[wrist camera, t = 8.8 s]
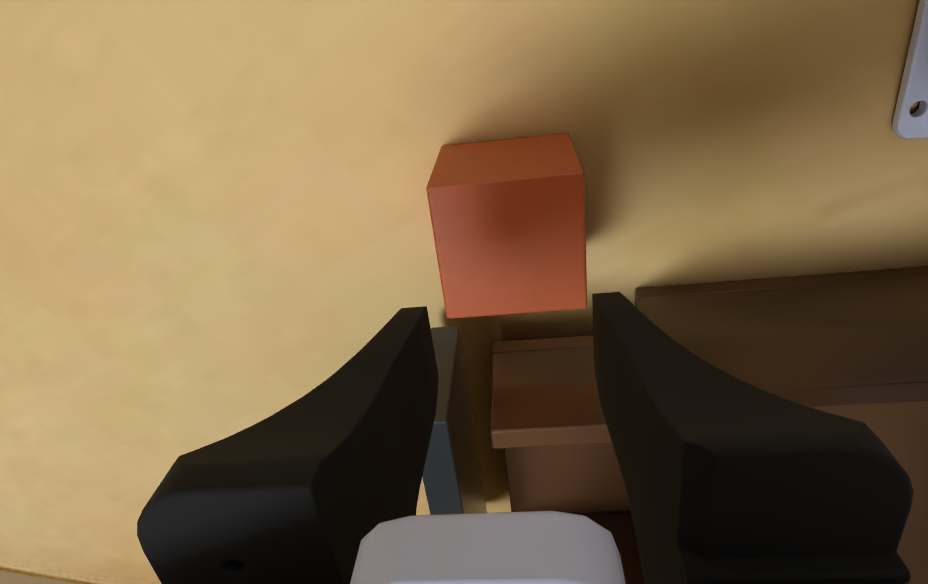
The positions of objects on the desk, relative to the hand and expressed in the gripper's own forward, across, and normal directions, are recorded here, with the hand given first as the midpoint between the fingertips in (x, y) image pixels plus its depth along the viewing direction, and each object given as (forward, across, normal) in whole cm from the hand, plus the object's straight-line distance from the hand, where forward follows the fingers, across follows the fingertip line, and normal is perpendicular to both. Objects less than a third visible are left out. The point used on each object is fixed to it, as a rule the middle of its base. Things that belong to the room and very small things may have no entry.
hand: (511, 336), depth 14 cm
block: (+9, 0, 0) cm, 9 cm away
